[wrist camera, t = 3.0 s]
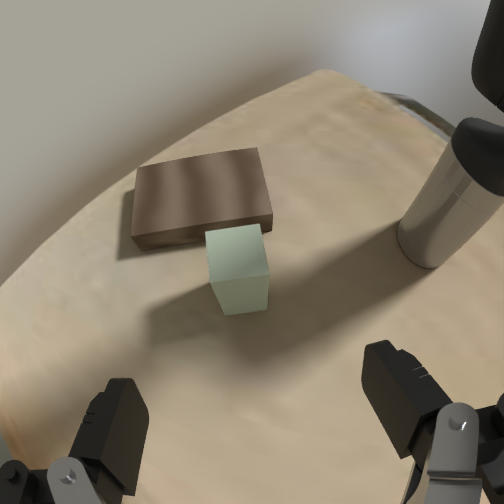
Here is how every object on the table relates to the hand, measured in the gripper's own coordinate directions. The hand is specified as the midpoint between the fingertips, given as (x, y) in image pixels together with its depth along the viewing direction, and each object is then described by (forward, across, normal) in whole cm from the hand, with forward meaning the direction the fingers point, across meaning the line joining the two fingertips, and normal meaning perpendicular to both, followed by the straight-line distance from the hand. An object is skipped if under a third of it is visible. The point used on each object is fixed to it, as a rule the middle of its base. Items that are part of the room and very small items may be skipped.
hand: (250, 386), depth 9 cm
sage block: (+25, 0, +8) cm, 26 cm away
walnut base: (+35, +4, -1) cm, 35 cm away
